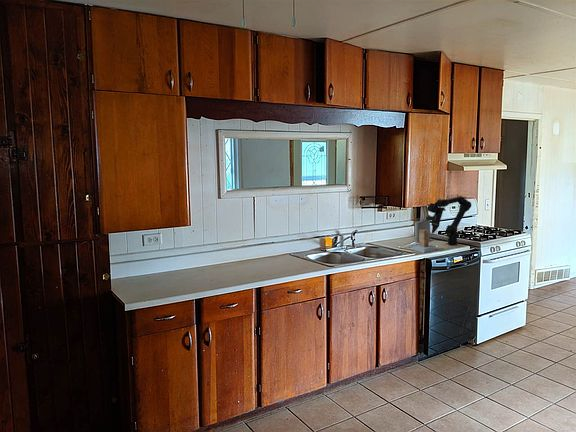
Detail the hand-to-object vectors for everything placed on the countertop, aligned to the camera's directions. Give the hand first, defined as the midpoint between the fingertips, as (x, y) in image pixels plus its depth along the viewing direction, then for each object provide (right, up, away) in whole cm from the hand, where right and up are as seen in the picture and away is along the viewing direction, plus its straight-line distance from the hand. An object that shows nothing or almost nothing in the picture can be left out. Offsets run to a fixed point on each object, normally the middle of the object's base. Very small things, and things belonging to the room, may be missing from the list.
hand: (432, 233), depth 375 cm
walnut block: (-10, -10, -9) cm, 17 cm away
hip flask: (-1, -8, +25) cm, 27 cm away
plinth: (-10, -13, -9) cm, 18 cm away
